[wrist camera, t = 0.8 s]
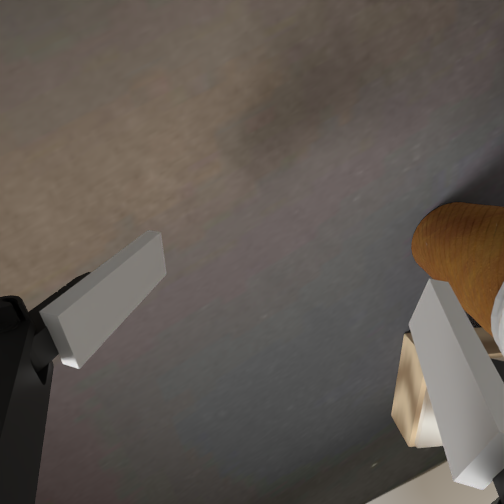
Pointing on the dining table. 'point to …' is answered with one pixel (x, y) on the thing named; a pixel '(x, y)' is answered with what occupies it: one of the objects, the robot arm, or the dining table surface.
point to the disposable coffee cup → (467, 259)
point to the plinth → (422, 394)
